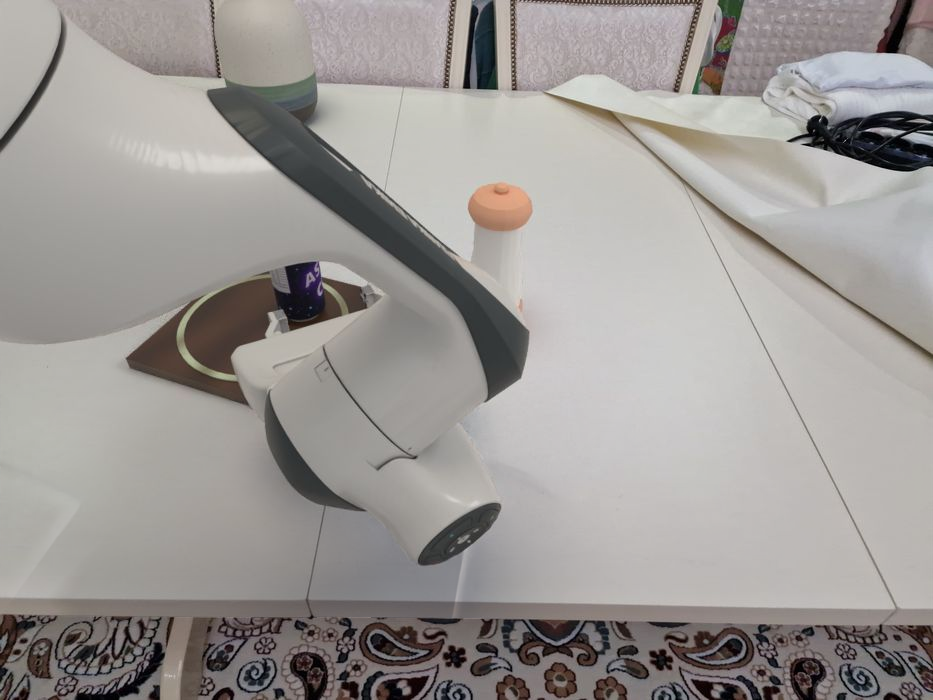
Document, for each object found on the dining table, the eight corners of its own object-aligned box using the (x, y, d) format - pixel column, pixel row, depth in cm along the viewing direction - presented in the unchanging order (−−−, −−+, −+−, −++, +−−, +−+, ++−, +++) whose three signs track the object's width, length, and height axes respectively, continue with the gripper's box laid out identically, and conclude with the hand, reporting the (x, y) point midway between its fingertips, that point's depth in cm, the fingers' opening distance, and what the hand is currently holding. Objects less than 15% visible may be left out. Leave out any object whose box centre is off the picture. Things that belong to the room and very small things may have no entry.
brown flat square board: (129, 367, 70) (124, 356, 69) (244, 265, 85) (241, 255, 84) (298, 421, 65) (295, 410, 64) (387, 302, 80) (387, 291, 79)
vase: (332, 105, 129) (316, -27, 112) (304, 138, 116) (282, -4, 100) (254, 99, 130) (228, -32, 114) (219, 131, 118) (184, -11, 102)
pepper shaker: (504, 349, 74) (518, 208, 61) (452, 329, 77) (454, 189, 64) (529, 317, 79) (547, 179, 66) (479, 298, 81) (487, 162, 68)
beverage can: (317, 328, 73) (302, 242, 65) (272, 322, 74) (251, 237, 66) (332, 299, 78) (319, 215, 69) (289, 294, 78) (272, 210, 70)
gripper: (482, 329, 54) (416, 251, 63) (250, 406, 47) (211, 305, 56) (479, 379, 59) (417, 299, 68) (265, 458, 51) (227, 356, 60)
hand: (322, 302), depth 62 cm, fingers open, 8 cm apart
